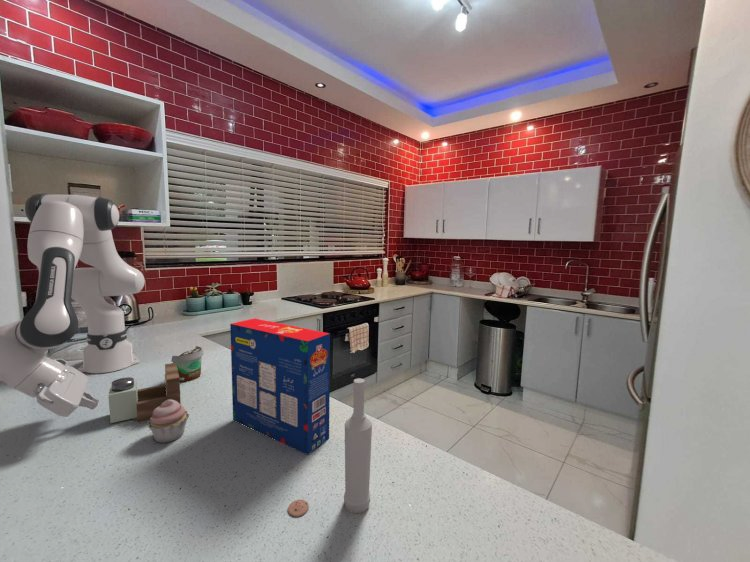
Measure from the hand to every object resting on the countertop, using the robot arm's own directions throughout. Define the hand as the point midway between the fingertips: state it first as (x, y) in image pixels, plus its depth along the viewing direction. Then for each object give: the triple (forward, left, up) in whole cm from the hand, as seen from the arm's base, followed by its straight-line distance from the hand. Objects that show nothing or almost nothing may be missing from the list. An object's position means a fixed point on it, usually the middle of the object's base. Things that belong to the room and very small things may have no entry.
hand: (96, 405), depth 90 cm
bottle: (+63, +45, -5) cm, 78 cm away
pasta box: (+30, +41, -5) cm, 51 cm away
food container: (-20, +25, -5) cm, 32 cm away
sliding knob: (0, +6, -5) cm, 8 cm away
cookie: (+58, +35, -5) cm, 68 cm away
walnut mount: (0, +13, -5) cm, 14 cm away
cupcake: (+18, +16, -5) cm, 25 cm away
